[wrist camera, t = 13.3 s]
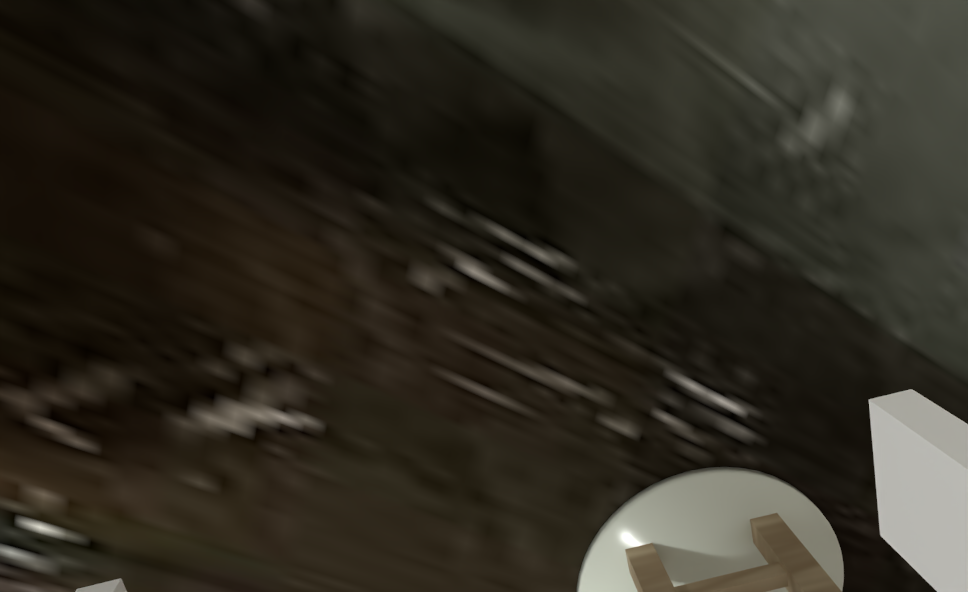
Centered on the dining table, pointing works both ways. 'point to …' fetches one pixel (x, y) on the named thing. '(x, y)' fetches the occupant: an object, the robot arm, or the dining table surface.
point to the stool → (746, 587)
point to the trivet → (705, 529)
